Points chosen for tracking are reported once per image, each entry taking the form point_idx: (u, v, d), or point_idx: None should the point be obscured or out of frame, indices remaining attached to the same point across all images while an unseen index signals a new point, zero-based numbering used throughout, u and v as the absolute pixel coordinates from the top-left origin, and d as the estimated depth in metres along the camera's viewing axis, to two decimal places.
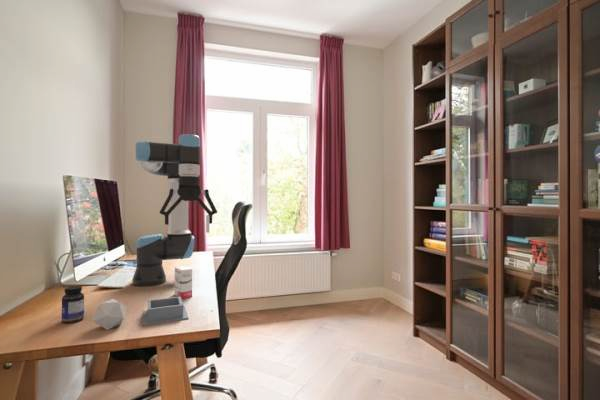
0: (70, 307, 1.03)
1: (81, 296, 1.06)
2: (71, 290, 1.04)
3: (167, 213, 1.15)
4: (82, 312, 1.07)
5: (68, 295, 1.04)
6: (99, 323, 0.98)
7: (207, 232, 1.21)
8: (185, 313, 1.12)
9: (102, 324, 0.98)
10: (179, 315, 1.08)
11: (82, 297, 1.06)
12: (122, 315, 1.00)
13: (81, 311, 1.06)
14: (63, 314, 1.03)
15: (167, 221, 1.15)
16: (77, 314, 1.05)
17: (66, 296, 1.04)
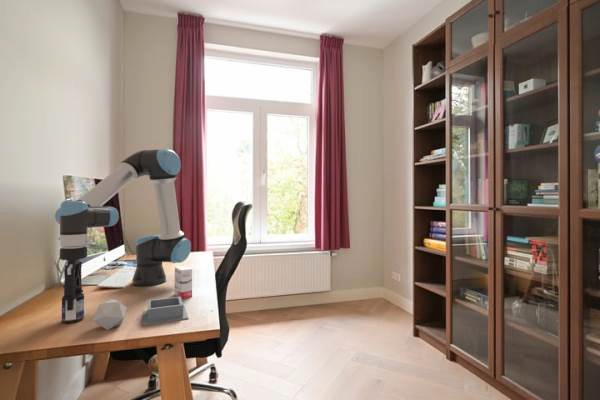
0: None
1: (81, 296, 1.06)
2: None
3: None
4: (82, 312, 1.07)
5: None
6: (99, 323, 0.98)
7: (65, 319, 1.03)
8: (185, 313, 1.12)
9: (102, 324, 0.98)
10: (179, 315, 1.08)
11: (82, 297, 1.06)
12: (122, 315, 1.00)
13: (81, 311, 1.06)
14: (63, 314, 1.03)
15: None
16: (77, 313, 1.05)
17: None
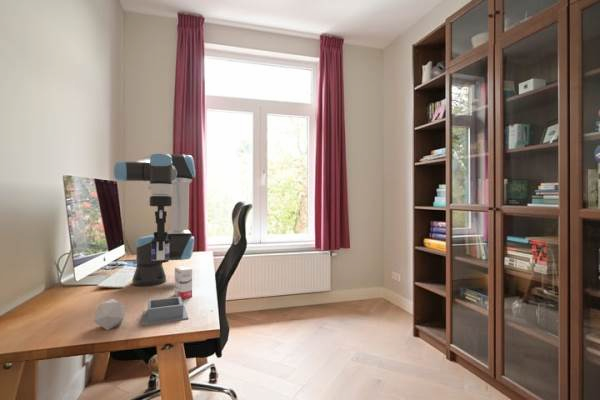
0: None
1: (168, 240, 1.18)
2: None
3: None
4: (168, 254, 1.18)
5: None
6: (99, 323, 0.98)
7: None
8: (185, 313, 1.12)
9: (102, 324, 0.98)
10: (179, 315, 1.08)
11: (168, 241, 1.18)
12: (122, 315, 1.00)
13: (168, 253, 1.18)
14: (153, 255, 1.15)
15: None
16: (165, 255, 1.16)
17: (156, 239, 1.16)
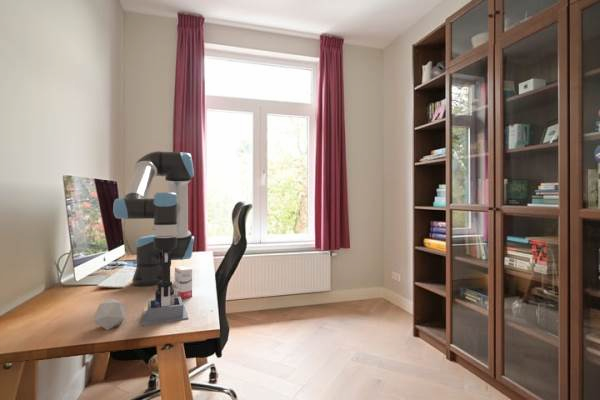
0: None
1: (173, 291, 1.11)
2: None
3: (160, 278, 1.15)
4: None
5: None
6: (99, 323, 0.98)
7: (161, 305, 1.07)
8: (185, 313, 1.12)
9: (103, 324, 0.98)
10: (179, 315, 1.08)
11: (173, 292, 1.11)
12: (122, 315, 1.00)
13: None
14: None
15: None
16: None
17: (160, 291, 1.09)
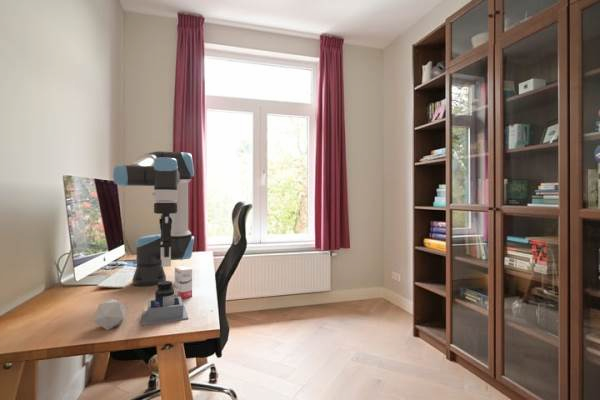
0: (164, 301, 1.08)
1: (173, 291, 1.11)
2: (165, 285, 1.09)
3: (160, 239, 1.18)
4: None
5: (162, 290, 1.09)
6: (99, 323, 0.98)
7: (161, 266, 1.05)
8: (185, 313, 1.12)
9: (103, 324, 0.98)
10: (179, 315, 1.08)
11: (173, 292, 1.11)
12: (122, 315, 1.00)
13: None
14: None
15: None
16: None
17: (160, 291, 1.09)
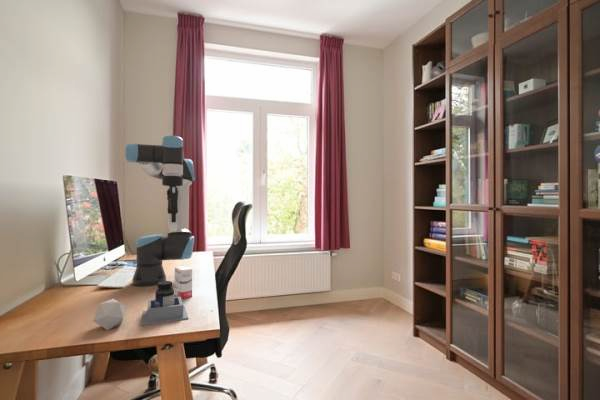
0: (164, 301, 1.08)
1: (173, 291, 1.11)
2: (165, 285, 1.09)
3: None
4: None
5: (162, 290, 1.09)
6: (99, 323, 0.98)
7: (169, 231, 1.19)
8: (185, 313, 1.12)
9: (103, 324, 0.98)
10: (179, 315, 1.08)
11: (173, 292, 1.11)
12: (122, 315, 1.00)
13: None
14: None
15: None
16: None
17: (160, 291, 1.08)
